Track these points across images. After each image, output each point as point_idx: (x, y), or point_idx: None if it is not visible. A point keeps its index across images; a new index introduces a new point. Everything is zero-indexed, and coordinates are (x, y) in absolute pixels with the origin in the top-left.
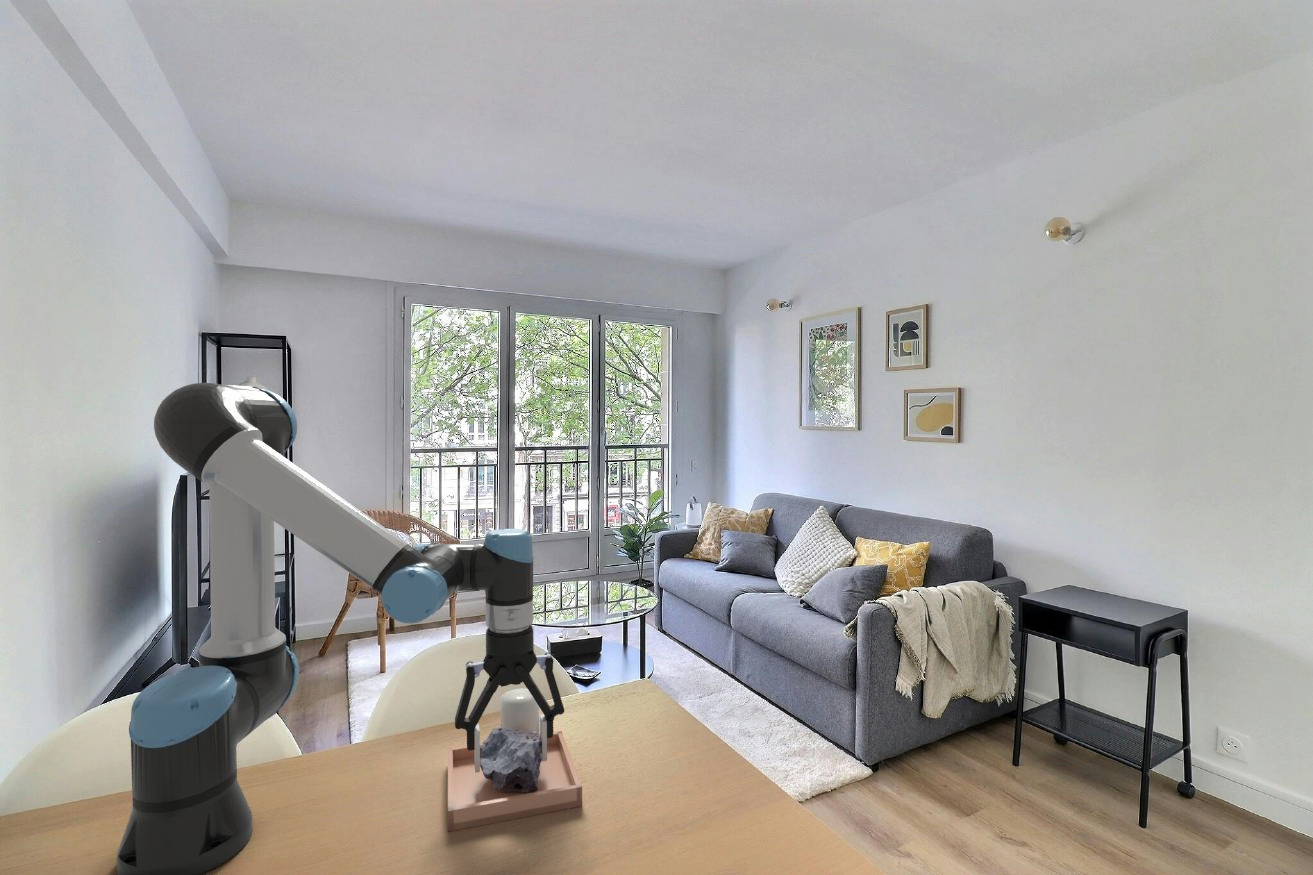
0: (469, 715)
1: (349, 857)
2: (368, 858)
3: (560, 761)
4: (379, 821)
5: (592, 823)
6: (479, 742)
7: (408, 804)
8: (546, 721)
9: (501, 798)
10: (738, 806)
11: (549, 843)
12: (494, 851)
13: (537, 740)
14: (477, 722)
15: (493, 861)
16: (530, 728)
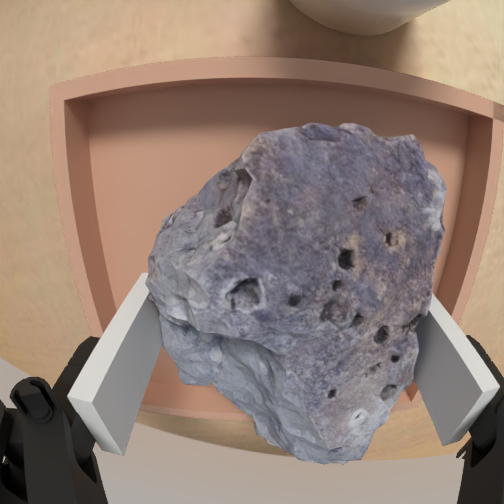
0: (25, 444)
1: (19, 361)
2: (41, 374)
3: (446, 225)
4: (10, 298)
5: (392, 412)
6: (137, 412)
7: (32, 261)
8: (459, 439)
9: (236, 414)
10: None
11: None
12: (222, 431)
13: (398, 392)
14: (101, 487)
15: (220, 442)
16: (411, 17)
